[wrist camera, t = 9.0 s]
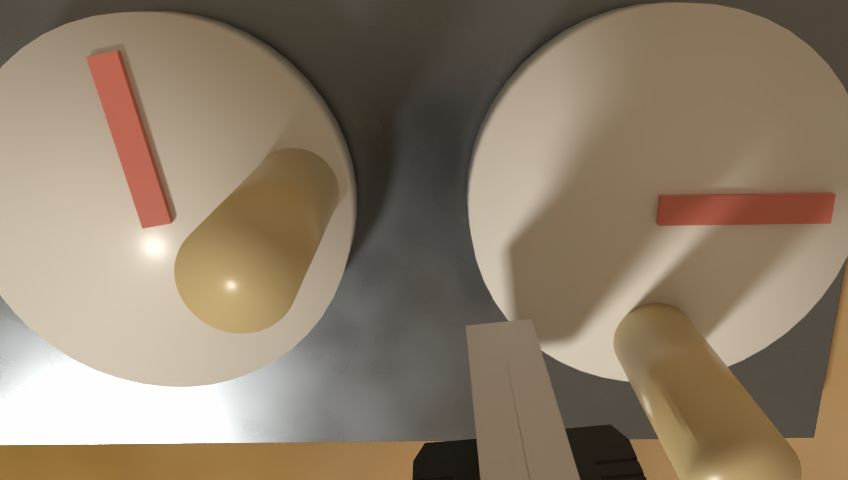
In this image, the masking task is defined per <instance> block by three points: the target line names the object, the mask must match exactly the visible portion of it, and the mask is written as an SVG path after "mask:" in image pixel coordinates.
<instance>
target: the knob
mask: <svg viewBox="0 0 848 480" xmlns="http://www.w3.org/2000/svg"><path fill="white" fill-rule="evenodd" d="M467 209H468V220H469V226H470V232H471V237H472V242H473V247H474V252H475V257H476V261H477V263H478V266H479V269H480V272H481V275H482V277H483V280H484V282H485V284H486V286H487V288H488V290H489V292H490V294H491V296H492V298H493V300H494V301H495V303H496V304H497V306H498V307H499V308H500V310H501V311H502V313H503V314H504V315H505V317H506V318H507V320H508V321H517V320H527V319H532V322H533V325H534V328H535V332H536V335H537V338H538V341H539V345H540V348H541V351H543V352H545V353H546V354H548V355H550V356H551V357H553V358H555V359H556V360H558V361H560V362H562V363H564V364H566V365H568V366H571V367H573V368H575V369H578V370H580V371H583V372H586V373H589V374H593V375H596V376H600V377H603V378H609V379H615V380H621V381H628V382H630V384H631V386H632V388H633V390H634V392H635V394H636V395H637V397H638V399H639V401H640V403H641V405H642V407H643V409H644V411H645V413H646V415H647V417H648V419H649V421H650V423H651V425H652V427H653V429H654V431H655V433H656V434H657V436H658V438H659V440H660V442H661V444H662V446H663V448H664V450H665V452H666V454H667V456H668V458H669V460H670V462H671V464H672V466H673V468H674V470H675V472H676V473H677V475H678V477H679V479H680V480H801V465H800V461H799V459H798V456H797V454H796V453H795V451H794V450H793V448H792V447H791V446H790V445H789V443H788V442H787V441H786V440H785V438H784V437H783V436H782V435H781V433H780V432H779V431H778V430H777V428H776V427H775V426H774V425H773V423H772V422H771V421H770V420H769V418H768V417H767V416H766V415H765V413H764V412H763V411H762V410H761V408H760V407H759V406H758V405H757V403H756V402H755V401H754V400H753V398H752V397H751V396H750V395H749V393H748V392H747V391H746V389H745V388H744V387H743V386H742V384H741V383H740V382H739V381H738V379H737V378H736V377H735V376H734V374H733V373H732V372H731V371H730V369H729V368H728V366H730V365H733V364H735V363H738V362H740V361H742V360H744V359H746V358H748V357H750V356H752V355H753V354H755V353H757V352H759V351H761V350H762V349H764V348H766V347H767V346H769V345H770V344H771V343H773V342H774V341H776V340H777V339H778V338H780V337H781V336H783V335H784V334H785V333H787V332H788V331H789V330H790V329H791V328H792V327H793V326H795V325H796V324H797V323H798V322H799V321H800V320H801V319H802V318H803V317H805V316H806V314H807V313H808V312H809V311H810V310H811V309H812V308H813V307H814V305H815V304H816V303H817V302H818V301H819V300H820V299H821V298H822V296H823V295H824V293H825V292H826V291H827V289H828V288H829V286H830V285H831V284H832V282H833V281H834V279H835V278H836V276H837V275H838V273H839V271H840V269H841V267H842V265H843V264H844V262H845V260H846V258H847V256H848V94H847V92H846V90H845V88H844V86H843V84H842V83H841V82H840V80H839V79H838V77H837V76H836V75H835V73H834V72H833V70H832V69H831V68H830V66H829V65H828V64H827V63H826V62H825V61H824V60H823V59H822V58H821V57H820V56H819V55H818V54H817V53H816V51H815V50H814V49H813V48H812V47H811V46H809V45H808V44H807V43H805V42H804V41H803V40H801V39H800V38H799V37H797V36H796V35H795V34H793V33H792V32H791V31H789V30H787V29H785V28H783V27H782V26H780V25H778V24H776V23H774V22H772V21H770V20H768V19H766V18H764V17H761V16H758V15H755V14H752V13H750V12H747V11H744V10H741V9H736V8H731V7H726V6H721V5H716V4H702V3H681V2H656V3H645V4H635V5H631V6H626V7H622V8H617V9H613V10H610V11H607V12H604V13H601V14H599V15H596V16H593V17H590V18H588V19H586V20H584V21H582V22H580V23H578V24H576V25H574V26H572V27H570V28H568V29H566V30H564V31H563V32H561V33H560V34H558V35H557V36H555V37H554V38H552V39H551V40H550V41H548V42H547V43H545V44H544V45H542V46H541V47H540V48H539V49H538V50H537V51H535V52H534V53H533V54H532V55H531V56H530V57H529V58H528V59H527V60H525V61H524V62H523V63H522V64H521V65H520V67H519V68H518V69H517V70H516V71H515V72H514V73H513V75H512V76H511V77H510V78H509V79H508V80H507V81H506V83H505V84H504V86H503V87H502V89H501V90H500V92H499V93H498V95H497V96H496V98H495V99H494V101H493V102H492V104H491V106H490V108H489V110H488V112H487V114H486V116H485V118H484V120H483V122H482V124H481V126H480V129H479V132H478V135H477V138H476V140H475V143H474V146H473V150H472V155H471V160H470V164H469V169H468V180H467Z"/></svg>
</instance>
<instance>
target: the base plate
mask: <svg viewBox="0 0 848 480" xmlns="http://www.w3.org/2000/svg"><path fill="white" fill-rule="evenodd" d="M656 2H681V3H702V4H716V5H721V6H726V7H731V8H736V9H741V10H744V11H747V12H750V13H752V14H755V15H758V16H761V17H764V18H766V19H768V20H770V21H772V22H774V23H776V24H778V25H780V26H782V27H783V28H785V29H787V30H789V31H791V32H792V33H793V34H795V35H796V36H797V37H799V38H800V39H801V40H803V41H804V42H805V43H807V44H808V45H809V46H811V47H812V48H813V49H814V50H815V51H816V53H817V54H818V55H819V56H820V57H821V58H822V59H823V60H824V61H825V62H826V63H827V64H828V65H829V66H830V68H831V69H832V70H833V72H834V73H835V75H836V76H837V77H838V79H839V80H840V82H841V83H842V84H843V86H844V88H845V90H846V92H847V94H848V0H0V68H1V67H2V66H3V65H4V64H5V63H6V62H7V61H8V60H9V59H10V58H11V57H12V56H14V55H15V54H16V53H17V52H18V51H19V50H20V49H21V48H23V47H24V46H26V45H27V44H29V43H30V42H32V41H33V40H35V39H36V38H38V37H40V36H41V35H43V34H44V33H47V32H49V31H51V30H53V29H56V28H58V27H60V26H62V25H64V24H67V23H70V22H73V21H77V20H81V19H84V18H88V17H91V16H97V15H105V14H113V13H121V12H138V11H175V12H181V13H188V14H195V15H200V16H203V17H207V18H210V19H214V20H218V21H221V22H224V23H226V24H229V25H231V26H233V27H236V28H238V29H240V30H243V31H245V32H247V33H249V34H251V35H252V36H254V37H256V38H257V39H259V40H261V41H263V42H264V43H266V44H268V45H269V46H271V47H272V48H273V49H275V50H276V51H277V52H278V53H280V54H281V55H282V56H284V57H285V58H286V59H288V60H289V61H290V62H291V63H292V64H293V65H294V66H295V67H296V68H297V69H298V70H299V71H300V72H301V73H302V74H303V75H304V76H305V77H306V78H307V79H308V80H309V81H310V82H311V84H312V85H313V86H314V87H315V89H316V90H317V91H318V92H319V94H320V95H321V96H322V98H323V99H324V100H325V102H326V104H327V105H328V107H329V109H330V110H331V112H332V114H333V115H334V117H335V119H336V120H337V122H338V125H339V127H340V129H341V131H342V134H343V136H344V138H345V140H346V143H347V146H348V149H349V153H350V156H351V160H352V163H353V167H354V173H355V180H356V186H357V219H356V227H355V234H354V238H353V242H352V246H351V250H350V254H349V257H348V260H347V263H346V266H345V270H344V273H343V276H342V278H341V281H340V283H339V286H338V288H337V290H336V293H335V295H334V297H333V299H332V301H331V302H330V304H329V306H328V307H327V309H326V311H325V313H324V314H323V316H322V317H321V319H320V320H319V321H318V322H317V323H316V325H315V326H314V327H313V328H312V330H311V331H310V332H309V333H308V334H307V335H306V336H305V337H304V338H303V339H302V340H301V341H300V342H299V343H298V344H297V345H296V346H294V347H293V348H292V349H291V350H290V351H288V352H287V353H285V354H284V355H283V356H281V357H280V358H278V359H277V360H275V361H274V362H272V363H270V364H268V365H266V366H264V367H262V368H261V369H259V370H257V371H255V372H252V373H250V374H247V375H244V376H241V377H239V378H236V379H233V380H229V381H225V382H220V383H216V384H211V385H203V386H193V387H163V386H155V385H147V384H140V383H136V382H132V381H128V380H124V379H120V378H116V377H113V376H111V375H108V374H105V373H102V372H100V371H97V370H94V369H92V368H90V367H88V366H86V365H84V364H82V363H80V362H78V361H76V360H74V359H72V358H70V357H69V356H67V355H66V354H64V353H63V352H61V351H59V350H58V349H56V348H55V347H53V346H51V345H50V344H49V343H48V342H46V341H45V340H44V339H43V338H41V337H40V336H39V335H38V334H36V333H35V332H34V331H33V330H31V329H30V328H29V327H28V326H27V325H26V324H25V323H24V322H23V321H22V320H21V319H20V318H19V317H18V316H17V315H16V314H15V313H14V312H13V310H12V309H11V308H10V307H9V305H8V304H7V303H6V302H5V300H4V299H3V298H2V297H1V296H0V445H26V444H138V443H251V442H364V441H456V440H467V439H476V428H475V418H474V408H473V397H472V387H471V376H470V366H469V356H468V345H467V335H466V326H467V325H477V324H487V323H497V322H507V321H508V320H507V318H506V317H505V315H504V314H503V313H502V311H501V310H500V308H499V307H498V306H497V304H496V303H495V301H494V300H493V298H492V296H491V294H490V292H489V290H488V288H487V286H486V284H485V282H484V280H483V277H482V275H481V272H480V269H479V266H478V263H477V261H476V257H475V252H474V247H473V242H472V237H471V232H470V226H469V220H468V209H467V180H468V169H469V164H470V160H471V155H472V150H473V146H474V143H475V140H476V138H477V135H478V132H479V129H480V126H481V124H482V122H483V120H484V118H485V116H486V114H487V112H488V110H489V108H490V106H491V104H492V102H493V101H494V99H495V98H496V96H497V95H498V93H499V92H500V90H501V89H502V87H503V86H504V84H505V83H506V81H507V80H508V79H509V78H510V77H511V76H512V75H513V73H514V72H515V71H516V70H517V69H518V68H519V67H520V65H521V64H522V63H523V62H524V61H525V60H527V59H528V58H529V57H530V56H531V55H532V54H533V53H534V52H535V51H537V50H538V49H539V48H540V47H541V46H542V45H544V44H545V43H547V42H548V41H550V40H551V39H552V38H554V37H555V36H557V35H558V34H560V33H561V32H563V31H564V30H566V29H568V28H570V27H572V26H574V25H576V24H578V23H580V22H582V21H584V20H586V19H588V18H590V17H593V16H596V15H599V14H601V13H604V12H607V11H610V10H613V9H617V8H622V7H626V6H631V5H635V4H645V3H656ZM845 264H846V260H845V262H844V264H843V265H842V267H841V269H840V271H839V273H838V275H837V276H836V278H835V279H834V281H833V282H832V284H831V285H830V286H829V288H828V289H827V291H826V292H825V293H824V295H823V296H822V298H821V299H820V300H819V301H818V302H817V303H816V304H815V305H814V307H813V308H812V309H811V310H810V311H809V312H808V313H807V314H806V316H805V317H803V318H802V319H801V320H800V321H799V322H798V323H797V324H796V325H795V326H793V327H792V328H791V329H790V330H789V331H788V332H787V333H785V334H784V335H783V336H781V337H780V338H778V339H777V340H776V341H774V342H773V343H771V344H770V345H769V346H767V347H766V348H764V349H762V350H761V351H759V352H757V353H755V354H753V355H752V356H750V357H748V358H746V359H744V360H742V361H740V362H738V363H735V364H733V365H730V366H728V368H729V369H730V371H731V372H732V373H733V374H734V376H735V377H736V378H737V379H738V381H739V382H740V383H741V384H742V386H743V387H744V388H745V389H746V391H747V392H748V393H749V395H750V396H751V397H752V398H753V400H754V401H755V402H756V403H757V405H758V406H759V407H760V408H761V410H762V411H763V412H764V413H765V415H766V416H767V417H768V418H769V420H770V421H771V422H772V423H773V425H774V426H775V427H776V428H777V430H778V431H779V432H780V433H781V435H782V436H783V437H784V438H814V434H815V429H816V423H817V418H818V412H819V407H820V401H821V396H822V390H823V385H824V379H825V374H826V368H827V363H828V357H829V352H830V346H831V341H832V335H833V330H834V324H835V319H836V313H837V308H838V302H839V297H840V291H841V286H842V280H843V275H844V269H845ZM542 355H543V358H544V361H545V365H546V368H547V371H548V375H549V378H550V381H551V385H552V388H553V391H554V394H555V398H556V401H557V404H558V408H559V411H560V414H561V418H562V421H563V424H564V428H576V427H587V426H598V425H609V424H611V425H612V426H613V427H615V428H616V429H617V430H618V431H619V432H621V433H622V434H623V435H624V436H625V437H627V438H628V439H659V438H658V436H657V434H656V433H655V431H654V429H653V427H652V425H651V423H650V421H649V419H648V417H647V415H646V413H645V411H644V409H643V407H642V405H641V403H640V401H639V399H638V397H637V395H636V394H635V392H634V390H633V388H632V386H631V384H630V382H628V381H621V380H615V379H609V378H603V377H600V376H596V375H593V374H589V373H586V372H583V371H580V370H578V369H575V368H573V367H571V366H568V365H566V364H564V363H562V362H560V361H558V360H556V359H555V358H553V357H551V356H550V355H548V354H546V353H545V352H543V351H542Z"/></svg>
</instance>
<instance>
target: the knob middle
mask: <svg viewBox="0 0 848 480" xmlns="http://www.w3.org/2000/svg"><path fill="white" fill-rule="evenodd" d="M356 219H357V186H356V180H355V173H354V167H353V163H352V160H351V156H350V153H349V149H348V146H347V143H346V140H345V138H344V136H343V134H342V131H341V129H340V127H339V125H338V122H337V120H336V119H335V117H334V115H333V114H332V112H331V110H330V109H329V107H328V105H327V104H326V102H325V100H324V99H323V98H322V96H321V95H320V94H319V92H318V91H317V90H316V89H315V87H314V86H313V85H312V84H311V82H310V81H309V80H308V79H307V78H306V77H305V76H304V75H303V74H302V73H301V72H300V71H299V70H298V69H297V68H296V67H295V66H294V65H293V64H292V63H291V62H290V61H289V60H288V59H286V58H285V57H284V56H282V55H281V54H280V53H278V52H277V51H276V50H275V49H273V48H272V47H271V46H269V45H268V44H266V43H264V42H263V41H261V40H259V39H257V38H256V37H254V36H252V35H251V34H249V33H247V32H245V31H243V30H240V29H238V28H236V27H233V26H231V25H229V24H226V23H224V22H221V21H218V20H214V19H210V18H207V17H203V16H200V15H195V14H188V13H181V12H175V11H138V12H121V13H113V14H105V15H97V16H91V17H88V18H84V19H81V20H77V21H73V22H70V23H67V24H64V25H62V26H60V27H58V28H56V29H53V30H51V31H49V32H47V33H44V34H43V35H41V36H40V37H38V38H36V39H35V40H33V41H32V42H30V43H29V44H27V45H26V46H24V47H23V48H21V49H20V50H19V51H18V52H17V53H16V54H15V55H14V56H12V57H11V58H10V59H9V60H8V61H7V62H6V63H5V64H4V65H3V66H2V67H1V68H0V296H1V297H2V298H3V299H4V300H5V302H6V303H7V304H8V305H9V307H10V308H11V309H12V310H13V312H14V313H15V314H16V315H17V316H18V317H19V318H20V319H21V320H22V321H23V322H24V323H25V324H26V325H27V326H28V327H29V328H30V329H31V330H33V331H34V332H35V333H36V334H38V335H39V336H40V337H41V338H43V339H44V340H45V341H46V342H48V343H49V344H50V345H51V346H53V347H55V348H56V349H58V350H59V351H61V352H63V353H64V354H66V355H67V356H69V357H70V358H72V359H74V360H76V361H78V362H80V363H82V364H84V365H86V366H88V367H90V368H92V369H94V370H97V371H100V372H102V373H105V374H108V375H111V376H113V377H116V378H120V379H124V380H128V381H132V382H136V383H140V384H147V385H155V386H163V387H193V386H203V385H211V384H216V383H220V382H225V381H229V380H233V379H236V378H239V377H241V376H244V375H247V374H250V373H252V372H255V371H257V370H259V369H261V368H262V367H264V366H266V365H268V364H270V363H272V362H274V361H275V360H277V359H278V358H280V357H281V356H283V355H284V354H285V353H287V352H288V351H290V350H291V349H292V348H293V347H294V346H296V345H297V344H298V343H299V342H300V341H301V340H302V339H303V338H304V337H305V336H306V335H307V334H308V333H309V332H310V331H311V330H312V328H313V327H314V326H315V325H316V323H317V322H318V321H319V320H320V319H321V317H322V316H323V314H324V313H325V311H326V309H327V307H328V306H329V304H330V302H331V301H332V299H333V297H334V295H335V293H336V290H337V288H338V286H339V283H340V281H341V278H342V276H343V273H344V270H345V266H346V263H347V260H348V257H349V254H350V250H351V246H352V242H353V238H354V234H355V227H356Z"/></svg>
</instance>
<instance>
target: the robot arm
mask: <svg viewBox="0 0 848 480" xmlns="http://www.w3.org/2000/svg"><path fill="white" fill-rule="evenodd" d="M466 335H467V345H468V356H469V366H470V376H471V387H472V397H473V408H474V418H475V428H476V439H467V440H456V441H445V442H434V443H425V444H424V446H423V447H422V449H421V450H420V452H419V453H418V455H417V456H416V458H415V459H414V461H413V480H647V479H646V477H644V473H643V470H642V468H641V466H640V464H639V462H638V461H637V457H636V454H635V452H634V450H633V448H632V445H631V443H630V441H629V439H628V438H627V437H625V436H624V435H623V434H622V433H621V432H619V431H618V430H617V429H616V428H615V427H613V426H612V425H611V424H609V425H598V426H587V427H576V428H564V424H563V421H562V418H561V414H560V411H559V408H558V404H557V401H556V398H555V394H554V391H553V388H552V385H551V381H550V378H549V375H548V371H547V368H546V365H545V361H544V358H543V355H542V351H541V348H540V345H539V341H538V338H537V335H536V332H535V328H534V325H533V322H532V319H527V320H517V321H507V322H497V323H487V324H477V325H467V326H466Z"/></svg>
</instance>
